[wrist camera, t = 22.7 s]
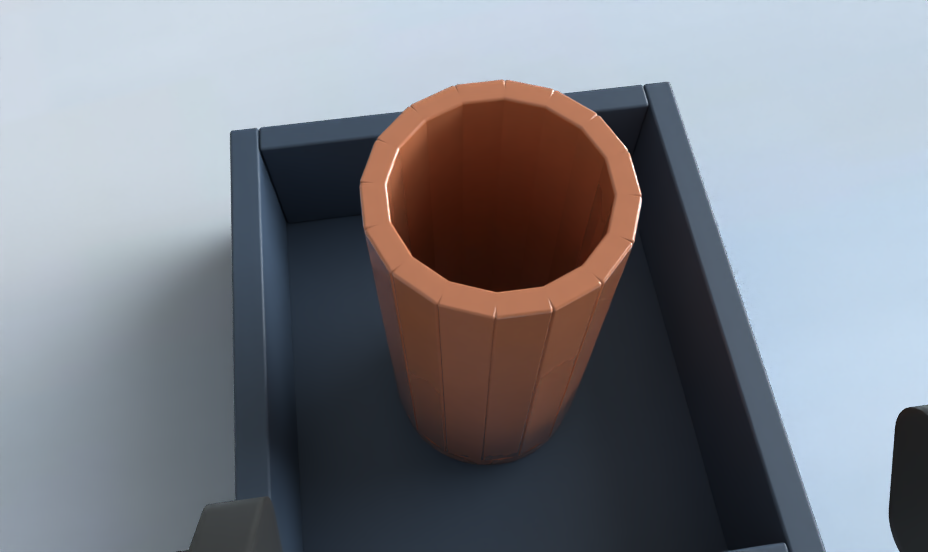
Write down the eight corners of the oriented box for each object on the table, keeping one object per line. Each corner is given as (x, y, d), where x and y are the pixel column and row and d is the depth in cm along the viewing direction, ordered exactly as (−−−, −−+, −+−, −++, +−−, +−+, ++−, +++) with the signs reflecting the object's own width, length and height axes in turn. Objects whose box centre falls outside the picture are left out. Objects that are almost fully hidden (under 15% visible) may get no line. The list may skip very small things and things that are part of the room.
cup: (554, 291, 25) (606, 67, 16) (588, 451, 22) (671, 295, 14) (390, 312, 24) (349, 94, 15) (409, 477, 22) (373, 334, 13)
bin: (638, 174, 28) (670, 80, 23) (760, 597, 21) (835, 574, 17) (266, 219, 27) (229, 129, 22) (283, 672, 21) (236, 668, 16)
